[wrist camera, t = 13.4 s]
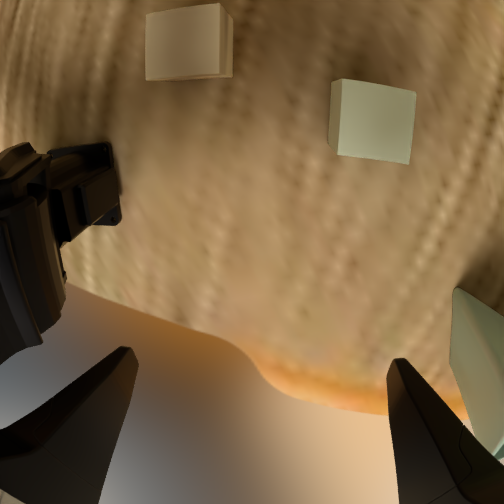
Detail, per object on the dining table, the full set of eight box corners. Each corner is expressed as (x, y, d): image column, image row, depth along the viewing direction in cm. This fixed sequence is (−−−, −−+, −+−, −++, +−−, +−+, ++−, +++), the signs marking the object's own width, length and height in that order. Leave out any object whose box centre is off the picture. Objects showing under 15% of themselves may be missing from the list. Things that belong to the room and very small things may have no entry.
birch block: (172, 81, 17) (145, 80, 13) (172, 26, 15) (146, 14, 11) (233, 77, 16) (219, 73, 13) (233, 20, 14) (220, 3, 11)
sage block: (327, 143, 18) (337, 155, 14) (331, 82, 16) (342, 78, 12) (386, 150, 18) (408, 164, 14) (392, 91, 16) (416, 92, 12)
